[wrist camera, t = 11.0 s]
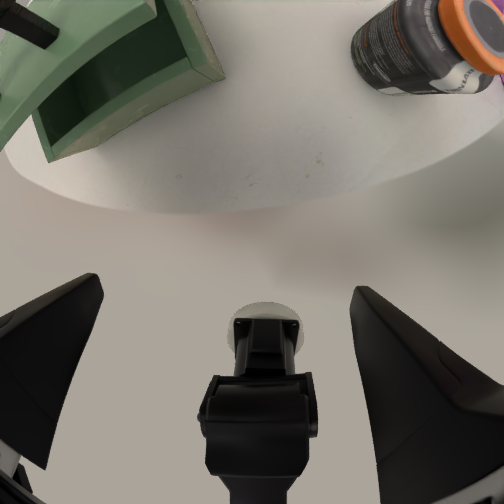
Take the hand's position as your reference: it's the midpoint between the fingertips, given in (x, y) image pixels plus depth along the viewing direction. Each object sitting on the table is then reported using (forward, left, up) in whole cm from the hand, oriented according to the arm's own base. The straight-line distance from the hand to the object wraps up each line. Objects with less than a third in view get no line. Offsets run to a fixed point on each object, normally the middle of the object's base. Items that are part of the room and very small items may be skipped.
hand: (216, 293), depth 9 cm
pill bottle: (+11, -10, -12) cm, 19 cm away
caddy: (+12, +9, -12) cm, 19 cm away
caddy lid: (+12, +9, -3) cm, 15 cm away
